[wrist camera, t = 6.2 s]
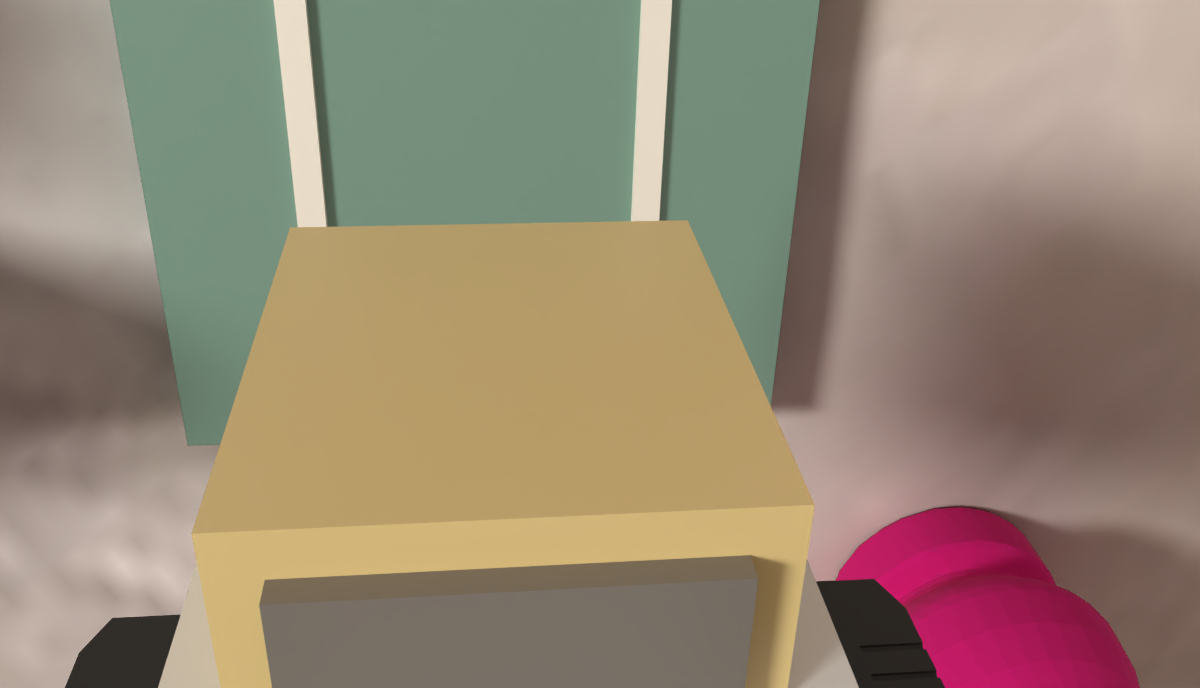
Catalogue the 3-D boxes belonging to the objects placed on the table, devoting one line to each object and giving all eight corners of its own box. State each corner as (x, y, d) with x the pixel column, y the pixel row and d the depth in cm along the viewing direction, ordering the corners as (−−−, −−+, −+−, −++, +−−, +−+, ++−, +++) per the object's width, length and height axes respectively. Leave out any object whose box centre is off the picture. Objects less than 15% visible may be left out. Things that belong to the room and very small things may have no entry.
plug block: (659, 627, 18) (746, 1029, 13) (338, 646, 17) (283, 1074, 12) (687, 220, 15) (824, 527, 9) (290, 227, 14) (184, 559, 9)
